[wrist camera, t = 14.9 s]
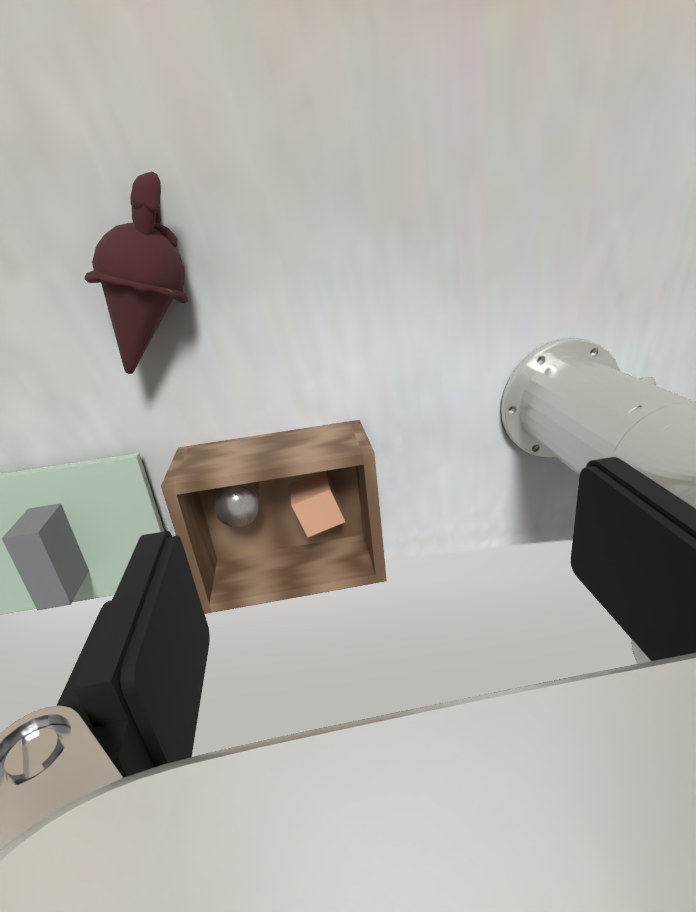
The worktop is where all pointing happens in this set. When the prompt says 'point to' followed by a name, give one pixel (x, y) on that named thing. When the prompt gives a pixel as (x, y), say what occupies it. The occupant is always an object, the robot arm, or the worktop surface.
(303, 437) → the box
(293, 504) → the terracotta cube
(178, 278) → the icecream
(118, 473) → the lid
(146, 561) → the robot arm
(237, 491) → the shiny steel ball
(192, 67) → the worktop surface
